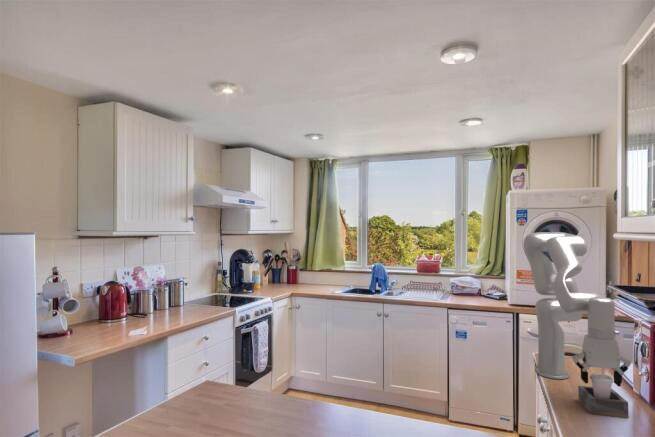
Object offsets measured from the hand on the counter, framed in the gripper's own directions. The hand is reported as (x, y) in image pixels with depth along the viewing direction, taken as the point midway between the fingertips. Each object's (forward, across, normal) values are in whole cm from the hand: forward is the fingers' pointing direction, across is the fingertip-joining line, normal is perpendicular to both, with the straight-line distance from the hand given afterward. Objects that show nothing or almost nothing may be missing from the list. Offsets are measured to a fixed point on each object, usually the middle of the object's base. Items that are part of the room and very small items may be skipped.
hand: (600, 383), depth 130 cm
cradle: (+8, 0, +1) cm, 8 cm away
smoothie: (+7, 0, 0) cm, 8 cm away
